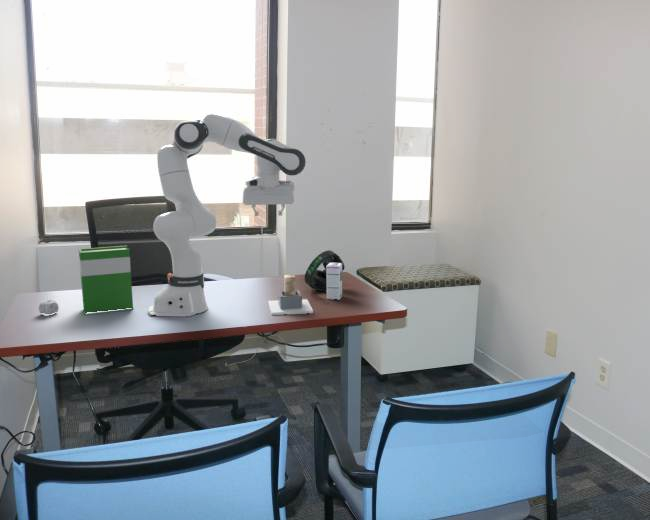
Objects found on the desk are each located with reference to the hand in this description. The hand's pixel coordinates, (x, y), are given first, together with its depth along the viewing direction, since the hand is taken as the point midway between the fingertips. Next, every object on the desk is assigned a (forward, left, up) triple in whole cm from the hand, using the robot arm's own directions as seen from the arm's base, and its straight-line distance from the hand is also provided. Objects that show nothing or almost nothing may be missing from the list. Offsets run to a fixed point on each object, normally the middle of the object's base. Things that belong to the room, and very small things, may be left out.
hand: (268, 215), depth 248 cm
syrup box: (+27, 0, -35) cm, 44 cm away
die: (-84, -6, -35) cm, 91 cm away
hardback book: (-63, -3, -35) cm, 72 cm away
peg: (+7, -12, -34) cm, 37 cm away
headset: (+25, +15, -35) cm, 46 cm away
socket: (+7, -12, -35) cm, 38 cm away
